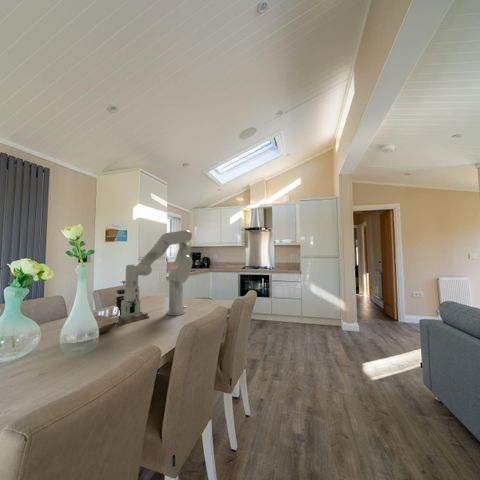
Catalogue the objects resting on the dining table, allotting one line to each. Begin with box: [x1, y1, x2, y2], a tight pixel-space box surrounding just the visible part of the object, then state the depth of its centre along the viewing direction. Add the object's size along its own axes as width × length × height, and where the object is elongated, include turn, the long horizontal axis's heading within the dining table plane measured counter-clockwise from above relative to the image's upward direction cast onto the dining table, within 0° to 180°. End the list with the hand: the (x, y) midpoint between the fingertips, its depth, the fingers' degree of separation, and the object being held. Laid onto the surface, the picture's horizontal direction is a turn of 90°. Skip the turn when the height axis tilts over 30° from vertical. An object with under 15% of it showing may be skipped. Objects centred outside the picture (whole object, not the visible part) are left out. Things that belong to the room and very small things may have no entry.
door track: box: [115, 310, 150, 326], centre depth 157 cm, size 20×11×3 cm, turn 148°
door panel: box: [121, 299, 141, 318], centre depth 157 cm, size 12×3×10 cm, turn 149°
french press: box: [115, 280, 126, 316], centre depth 170 cm, size 12×9×23 cm
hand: (130, 312), depth 157 cm, fingers closed on door panel, 2 cm apart
